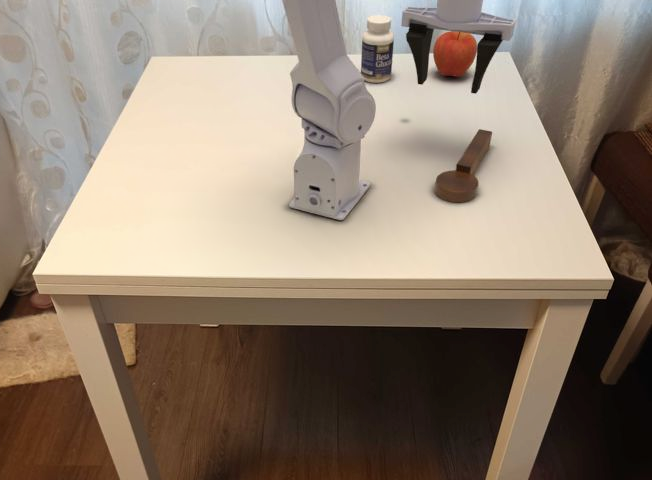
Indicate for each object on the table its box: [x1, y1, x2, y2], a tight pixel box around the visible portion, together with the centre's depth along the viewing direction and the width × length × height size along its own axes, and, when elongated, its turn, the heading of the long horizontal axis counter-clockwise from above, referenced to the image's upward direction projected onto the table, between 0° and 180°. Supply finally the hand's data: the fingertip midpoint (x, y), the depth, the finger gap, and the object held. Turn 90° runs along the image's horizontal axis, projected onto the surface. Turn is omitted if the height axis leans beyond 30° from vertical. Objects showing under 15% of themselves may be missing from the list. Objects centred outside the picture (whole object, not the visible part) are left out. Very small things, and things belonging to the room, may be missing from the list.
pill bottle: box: [360, 14, 395, 84], centre depth 110 cm, size 5×5×10 cm
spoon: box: [434, 128, 493, 203], centre depth 89 cm, size 16×6×3 cm, turn 153°
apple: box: [432, 31, 478, 78], centre depth 110 cm, size 7×7×8 cm
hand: (448, 86), depth 89 cm, fingers open, 7 cm apart
